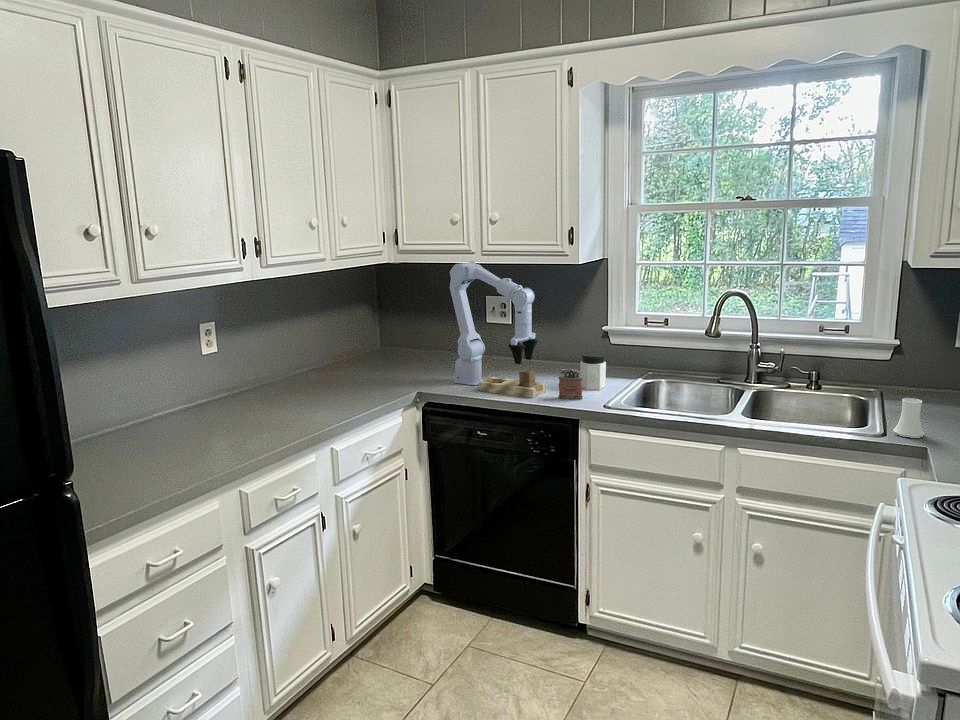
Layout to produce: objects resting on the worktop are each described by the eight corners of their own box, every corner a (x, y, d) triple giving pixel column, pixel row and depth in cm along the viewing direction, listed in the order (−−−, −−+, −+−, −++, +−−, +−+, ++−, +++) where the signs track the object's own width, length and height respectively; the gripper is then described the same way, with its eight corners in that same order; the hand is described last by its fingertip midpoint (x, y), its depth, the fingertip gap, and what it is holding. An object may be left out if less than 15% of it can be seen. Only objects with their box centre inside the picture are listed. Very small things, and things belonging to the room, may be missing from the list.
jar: (580, 390, 258) (580, 356, 256) (579, 384, 266) (580, 352, 264) (606, 390, 257) (606, 356, 255) (604, 384, 265) (605, 352, 263)
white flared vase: (895, 428, 211) (899, 395, 208) (926, 433, 206) (930, 399, 204) (890, 435, 205) (894, 401, 203) (921, 440, 200) (925, 405, 198)
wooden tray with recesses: (478, 390, 260) (478, 382, 259) (492, 384, 268) (492, 376, 267) (533, 398, 249) (533, 389, 249) (545, 391, 257) (545, 383, 256)
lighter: (583, 397, 249) (583, 368, 247) (581, 400, 246) (582, 371, 243) (559, 396, 251) (559, 367, 249) (557, 398, 248) (557, 370, 246)
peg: (519, 393, 255) (519, 371, 253) (524, 391, 258) (524, 369, 256) (529, 395, 253) (529, 372, 251) (534, 392, 256) (534, 370, 254)
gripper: (523, 327, 247) (523, 367, 250) (543, 321, 259) (542, 358, 262) (505, 326, 250) (505, 364, 253) (525, 319, 262) (525, 356, 265)
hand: (523, 361), depth 258 cm, fingers open, 7 cm apart
